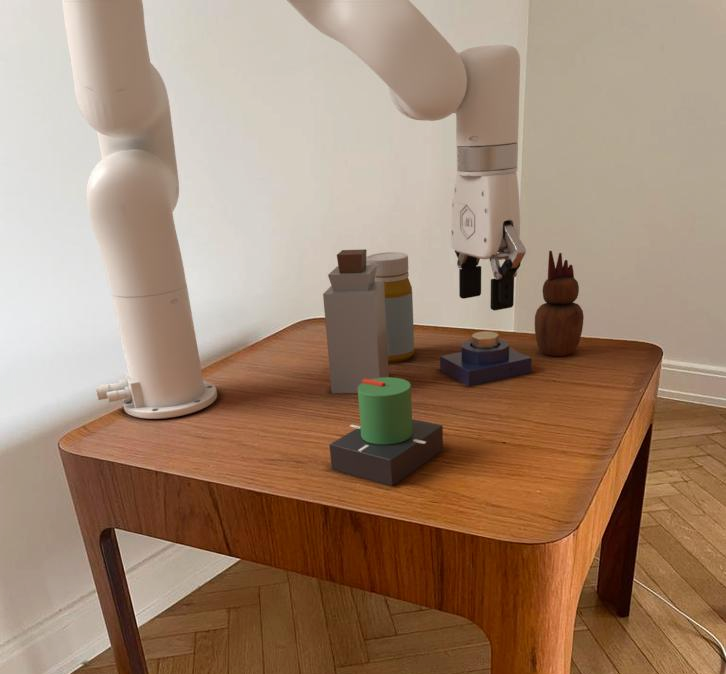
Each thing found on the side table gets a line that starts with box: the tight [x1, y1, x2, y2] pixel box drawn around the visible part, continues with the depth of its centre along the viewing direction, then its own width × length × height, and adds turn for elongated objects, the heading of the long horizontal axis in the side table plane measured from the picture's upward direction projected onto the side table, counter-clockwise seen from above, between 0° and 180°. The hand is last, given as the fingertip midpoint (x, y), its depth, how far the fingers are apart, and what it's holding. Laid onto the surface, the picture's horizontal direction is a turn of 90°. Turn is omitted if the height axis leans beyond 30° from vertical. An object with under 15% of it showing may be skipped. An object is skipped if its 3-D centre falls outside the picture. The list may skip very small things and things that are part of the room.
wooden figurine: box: [534, 250, 585, 358], centre depth 107 cm, size 7×6×15 cm
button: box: [471, 331, 499, 349], centre depth 103 cm, size 4×4×2 cm
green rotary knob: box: [357, 376, 413, 445], centre depth 79 cm, size 6×6×6 cm
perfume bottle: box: [322, 248, 390, 394], centre depth 100 cm, size 7×7×18 cm
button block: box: [439, 338, 532, 387], centre depth 105 cm, size 10×8×4 cm
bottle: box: [366, 251, 415, 364], centre depth 111 cm, size 7×7×15 cm
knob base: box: [329, 417, 444, 487], centre depth 81 cm, size 10×10×3 cm
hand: (485, 301), depth 101 cm, fingers open, 7 cm apart
